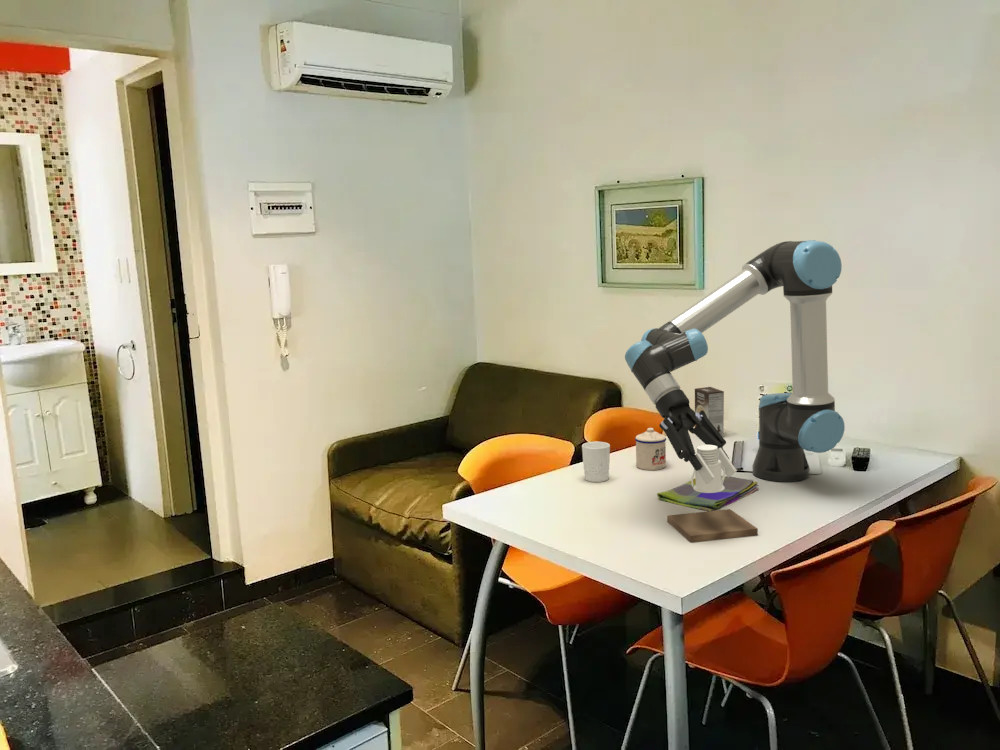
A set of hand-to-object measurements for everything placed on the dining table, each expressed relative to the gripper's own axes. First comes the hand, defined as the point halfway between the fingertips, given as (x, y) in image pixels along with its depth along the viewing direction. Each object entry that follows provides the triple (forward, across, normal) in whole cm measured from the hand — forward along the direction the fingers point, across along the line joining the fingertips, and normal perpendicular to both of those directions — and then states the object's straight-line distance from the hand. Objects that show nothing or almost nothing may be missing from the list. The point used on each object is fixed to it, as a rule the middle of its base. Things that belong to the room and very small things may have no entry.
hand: (721, 477), depth 181 cm
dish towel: (-5, -20, -24) cm, 32 cm away
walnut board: (+7, 0, -12) cm, 14 cm away
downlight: (0, 0, -5) cm, 5 cm away
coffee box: (-35, -68, -54) cm, 93 cm away
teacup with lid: (-26, -29, -44) cm, 59 cm away
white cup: (-26, -7, -46) cm, 53 cm away
